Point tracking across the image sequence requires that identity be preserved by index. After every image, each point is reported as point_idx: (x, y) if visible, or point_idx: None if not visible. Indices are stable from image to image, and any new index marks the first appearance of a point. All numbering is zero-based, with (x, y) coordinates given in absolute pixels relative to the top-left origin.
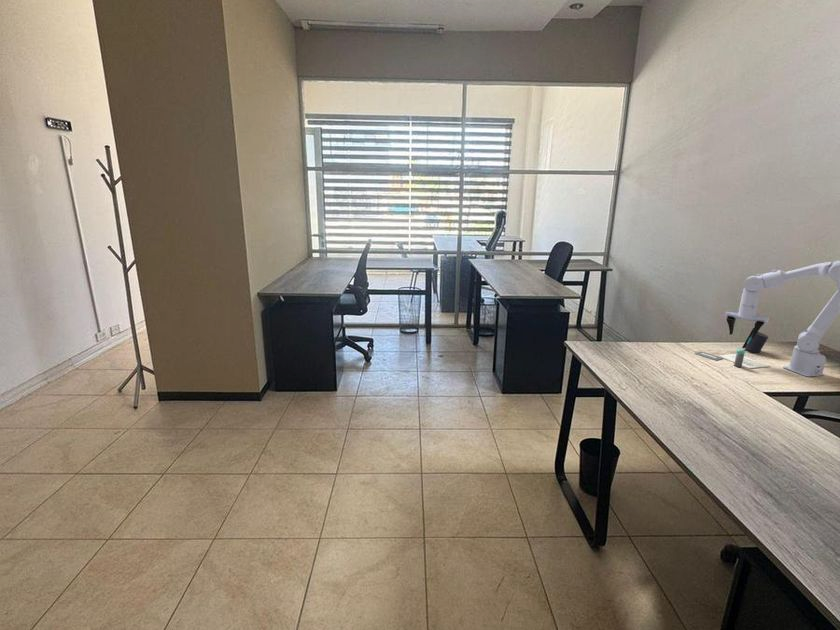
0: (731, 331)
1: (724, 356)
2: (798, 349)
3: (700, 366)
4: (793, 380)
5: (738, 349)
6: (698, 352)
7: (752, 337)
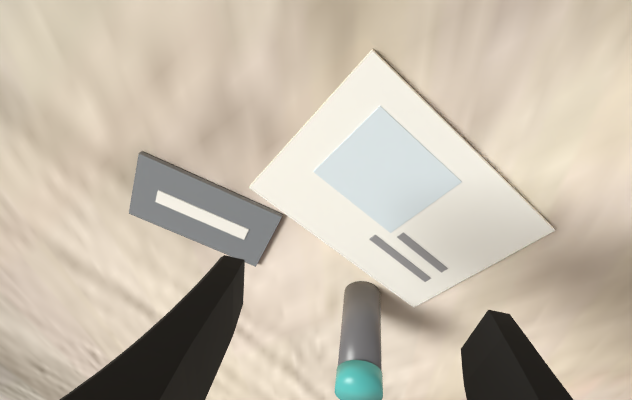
0: (222, 351)
1: (284, 190)
2: None
3: None
4: (598, 354)
5: (342, 387)
6: (136, 189)
7: (468, 368)
